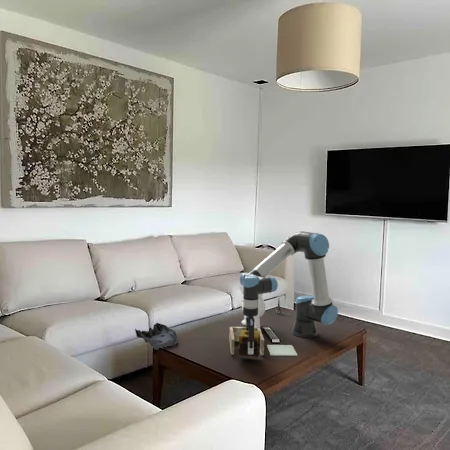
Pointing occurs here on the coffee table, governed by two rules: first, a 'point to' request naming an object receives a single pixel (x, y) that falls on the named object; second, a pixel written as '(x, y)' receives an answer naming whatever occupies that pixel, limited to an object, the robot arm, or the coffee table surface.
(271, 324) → the coffee table surface
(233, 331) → the wooden u-shaped frame
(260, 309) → the teddy bear
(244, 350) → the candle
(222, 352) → the coffee table surface
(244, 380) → the coffee table surface
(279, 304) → the eiffel tower figurine
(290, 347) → the felt mat
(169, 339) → the crumpled grey paper
